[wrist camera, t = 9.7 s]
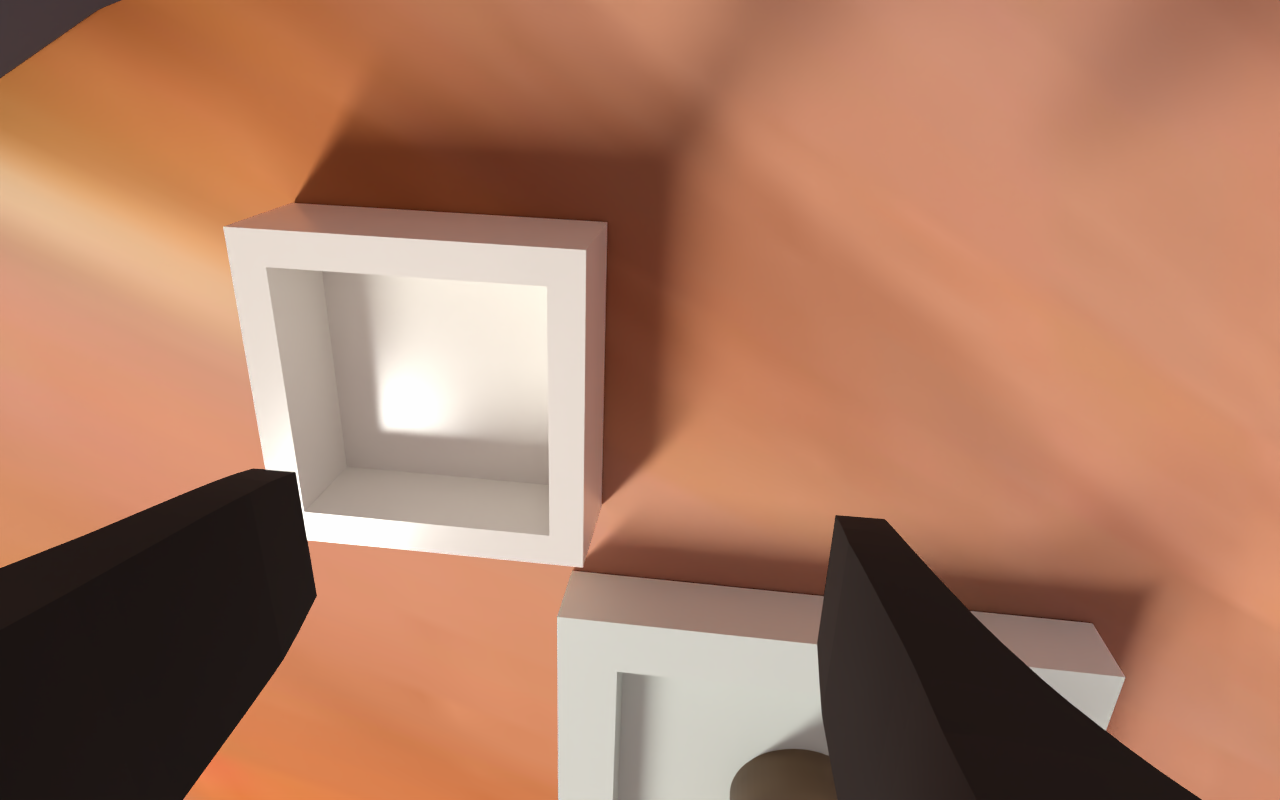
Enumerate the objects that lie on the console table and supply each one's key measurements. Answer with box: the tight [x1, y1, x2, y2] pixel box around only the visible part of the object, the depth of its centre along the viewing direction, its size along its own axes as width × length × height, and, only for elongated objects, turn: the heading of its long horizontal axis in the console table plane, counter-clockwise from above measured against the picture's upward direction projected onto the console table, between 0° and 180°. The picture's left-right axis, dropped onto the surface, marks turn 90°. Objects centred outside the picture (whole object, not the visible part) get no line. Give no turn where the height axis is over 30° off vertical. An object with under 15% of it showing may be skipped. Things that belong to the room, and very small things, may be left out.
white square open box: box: [223, 203, 607, 568], centre depth 19 cm, size 8×8×3 cm
